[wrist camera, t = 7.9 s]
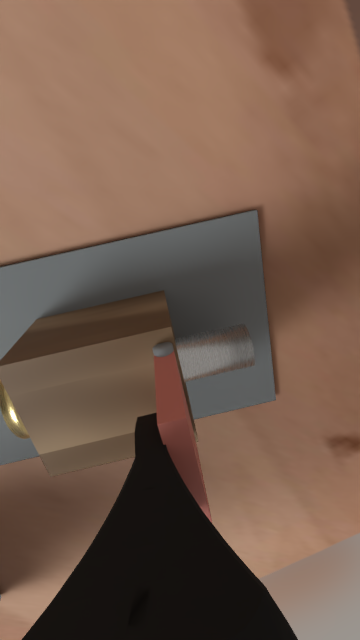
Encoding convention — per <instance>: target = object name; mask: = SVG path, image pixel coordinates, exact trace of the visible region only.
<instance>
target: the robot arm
mask: <svg viewBox="0 0 360 640" xmlns="http://www.w3.org/2000/svg"><path fill="white" fill-rule="evenodd" d="M0 599H1V595H0ZM22 640H298V639H297V637H296V636H295V634H294V632H293V630H292V628H291V627H290V625H289V623H288V622H287V620H286V619H285V617H284V615H283V614H282V612H281V611H280V609H279V608H278V606H277V604H276V603H275V601H274V600H273V599H272V597H271V595H270V594H269V592H268V590H267V588H266V587H265V586H264V585H263V583H262V582H261V581H260V580H259V579H258V578H257V577H256V576H255V575H254V574H253V573H252V572H251V570H250V569H249V568H248V567H247V566H246V565H245V564H244V562H243V561H242V560H241V559H240V558H239V557H238V556H237V554H236V553H235V552H234V551H233V550H232V548H231V547H230V546H229V545H228V544H227V542H226V541H225V540H224V539H223V537H222V536H221V535H220V533H219V532H218V531H217V529H216V528H215V527H214V525H213V524H212V523H211V522H210V520H209V519H208V518H207V516H206V515H205V513H204V512H203V511H202V509H201V508H200V506H199V505H198V503H197V502H196V500H195V499H194V497H193V496H192V494H191V493H190V491H189V489H188V488H187V486H186V484H185V483H184V481H183V479H182V478H181V476H180V474H179V472H178V470H177V468H176V467H175V465H174V463H173V461H172V459H171V457H170V454H169V452H168V449H167V446H166V444H165V445H163V442H162V439H161V435H160V432H159V429H158V425H157V413H152V414H148V415H144V416H140V417H137V421H136V426H135V460H134V462H133V465H132V467H131V470H130V472H129V474H128V476H127V478H126V481H125V483H124V485H123V487H122V490H121V492H120V494H119V496H118V498H117V500H116V502H115V504H114V506H113V507H112V509H111V511H110V513H109V515H108V517H107V518H106V520H105V522H104V524H103V525H102V527H101V529H100V530H99V532H98V534H97V535H96V537H95V539H94V540H93V542H92V544H91V545H90V547H89V548H88V550H87V552H86V553H85V555H84V556H83V558H82V559H81V561H80V562H79V564H78V565H77V566H76V568H75V569H74V571H73V572H72V574H71V575H70V576H69V578H68V579H67V581H66V582H65V584H64V585H63V586H62V588H61V589H60V591H59V592H58V594H57V595H56V596H55V598H54V599H53V600H52V602H51V603H50V604H49V606H48V607H47V608H46V610H45V611H44V612H43V613H42V615H41V616H40V617H39V618H38V620H37V621H36V622H35V624H34V625H33V626H32V627H31V629H30V630H29V631H28V632H27V634H26V635H25V636H24V637H23V639H22Z"/></svg>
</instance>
